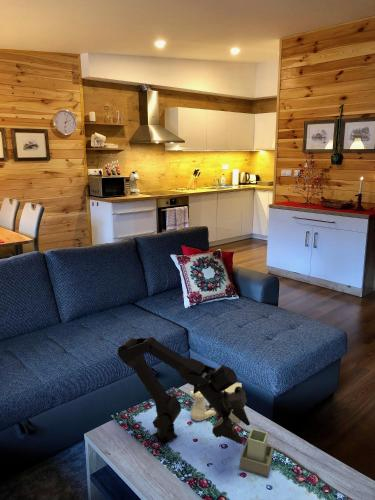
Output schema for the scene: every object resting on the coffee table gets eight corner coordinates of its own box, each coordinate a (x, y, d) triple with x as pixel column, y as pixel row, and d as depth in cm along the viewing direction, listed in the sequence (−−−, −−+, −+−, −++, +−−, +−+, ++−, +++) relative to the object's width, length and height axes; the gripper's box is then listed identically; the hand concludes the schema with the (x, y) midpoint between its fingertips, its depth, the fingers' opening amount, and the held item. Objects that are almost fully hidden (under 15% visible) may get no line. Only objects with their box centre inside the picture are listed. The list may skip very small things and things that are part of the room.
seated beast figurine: (216, 415, 155) (217, 387, 152) (204, 427, 149) (204, 399, 146) (196, 406, 161) (196, 379, 158) (183, 417, 154) (183, 390, 151)
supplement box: (239, 423, 151) (240, 393, 148) (220, 420, 152) (220, 391, 149) (240, 411, 158) (242, 382, 155) (222, 408, 159) (223, 380, 156)
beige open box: (246, 464, 130) (248, 438, 128) (250, 453, 135) (251, 428, 132) (262, 469, 128) (264, 443, 126) (266, 458, 133) (267, 432, 130)
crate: (239, 469, 129) (240, 457, 128) (246, 450, 137) (246, 439, 136) (267, 477, 126) (268, 465, 125) (272, 457, 134) (273, 446, 133)
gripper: (223, 401, 120) (257, 443, 119) (239, 370, 137) (269, 406, 136) (198, 417, 125) (231, 457, 124) (216, 385, 142) (245, 420, 140)
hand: (245, 433), depth 131 cm, fingers open, 9 cm apart
